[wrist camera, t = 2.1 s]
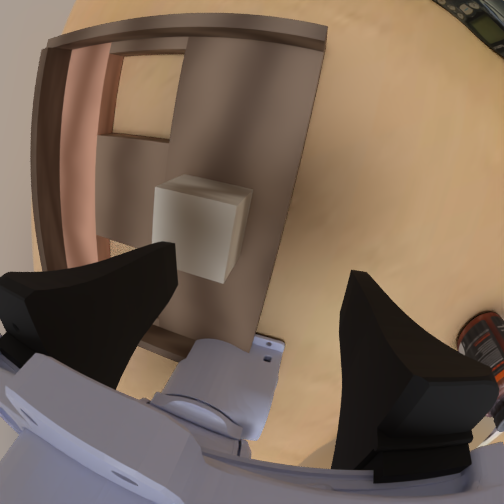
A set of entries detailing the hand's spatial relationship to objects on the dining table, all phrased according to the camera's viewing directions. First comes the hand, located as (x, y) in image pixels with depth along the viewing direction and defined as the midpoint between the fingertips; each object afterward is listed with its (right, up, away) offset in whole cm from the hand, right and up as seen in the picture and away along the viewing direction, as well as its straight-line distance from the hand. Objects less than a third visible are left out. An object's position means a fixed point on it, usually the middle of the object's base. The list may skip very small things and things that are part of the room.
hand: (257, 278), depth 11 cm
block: (-3, +4, +9) cm, 10 cm away
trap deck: (-8, +6, +11) cm, 15 cm away
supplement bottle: (+23, -7, +10) cm, 26 cm away
